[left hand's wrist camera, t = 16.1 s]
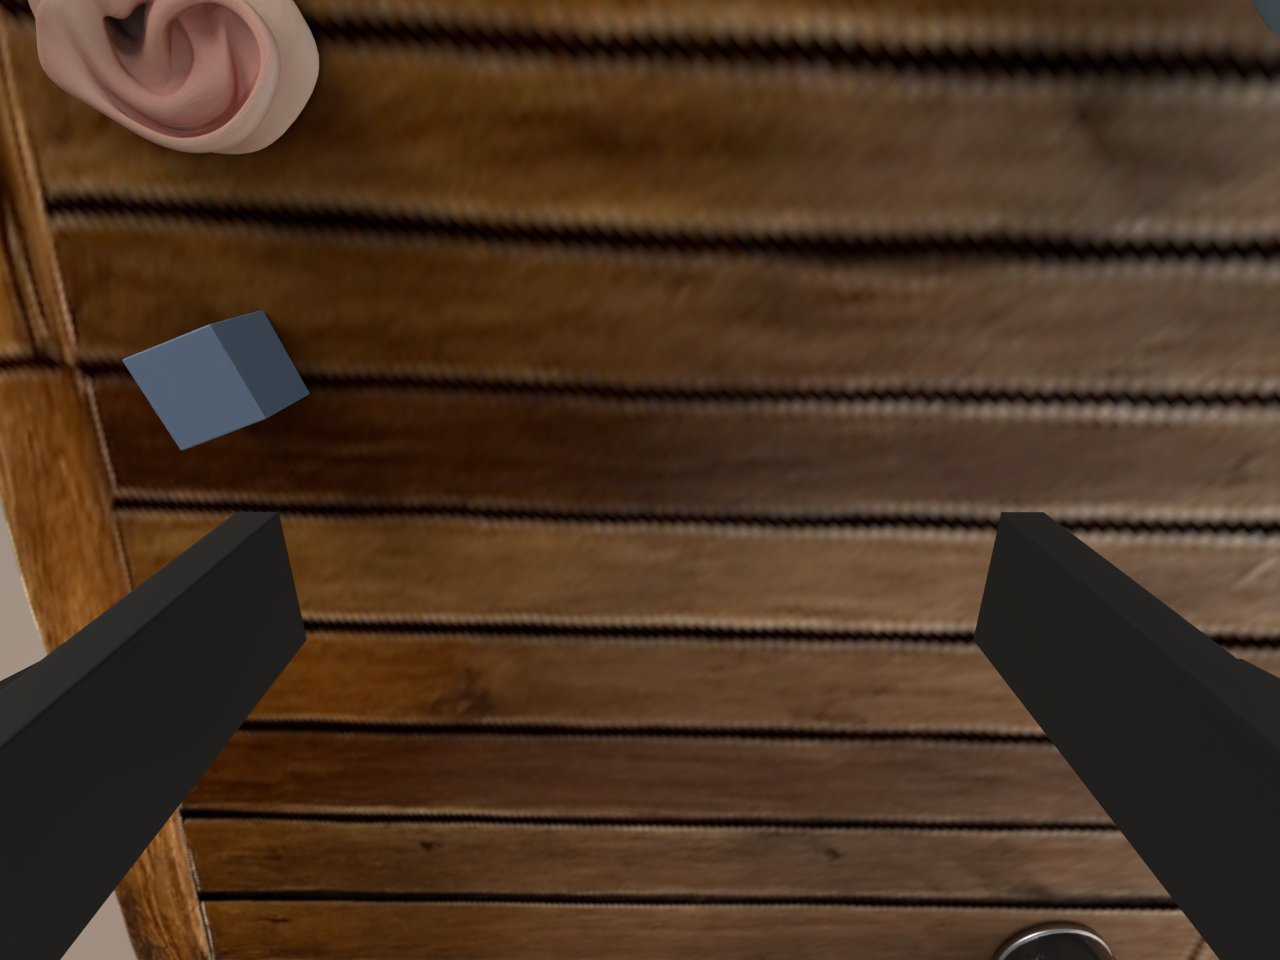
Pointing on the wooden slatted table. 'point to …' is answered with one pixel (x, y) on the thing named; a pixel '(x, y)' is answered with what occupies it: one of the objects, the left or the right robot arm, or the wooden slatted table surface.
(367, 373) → the wooden slatted table surface
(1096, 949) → the right robot arm
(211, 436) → the slate blue block
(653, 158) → the wooden slatted table surface
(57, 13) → the anatomical model
